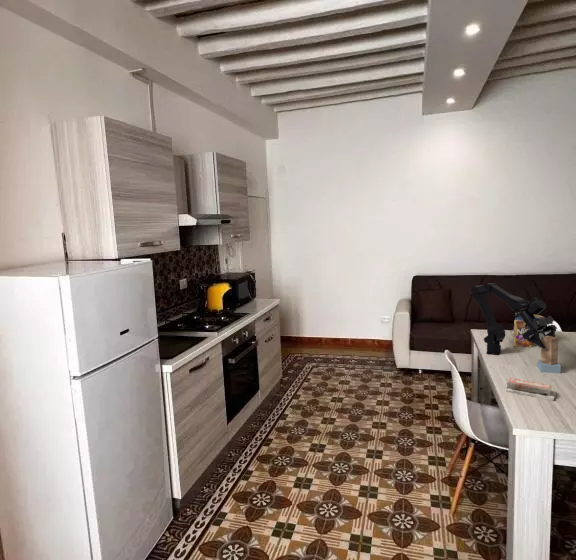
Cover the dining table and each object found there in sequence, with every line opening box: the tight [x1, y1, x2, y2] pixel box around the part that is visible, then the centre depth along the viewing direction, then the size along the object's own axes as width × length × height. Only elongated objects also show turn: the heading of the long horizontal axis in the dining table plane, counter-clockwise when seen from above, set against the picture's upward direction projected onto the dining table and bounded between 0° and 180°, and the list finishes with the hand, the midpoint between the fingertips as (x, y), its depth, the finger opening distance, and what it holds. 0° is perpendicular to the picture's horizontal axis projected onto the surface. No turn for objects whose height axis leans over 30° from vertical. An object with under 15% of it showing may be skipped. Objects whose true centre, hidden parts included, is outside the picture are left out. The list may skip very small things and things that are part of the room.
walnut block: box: [540, 336, 559, 365], centre depth 203 cm, size 5×5×12 cm
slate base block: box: [537, 359, 562, 374], centre depth 204 cm, size 8×8×4 cm
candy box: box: [512, 319, 533, 348], centre depth 242 cm, size 9×4×15 cm, turn 73°
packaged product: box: [504, 377, 557, 402], centre depth 179 cm, size 18×5×10 cm
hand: (550, 346), depth 202 cm, fingers open, 9 cm apart
